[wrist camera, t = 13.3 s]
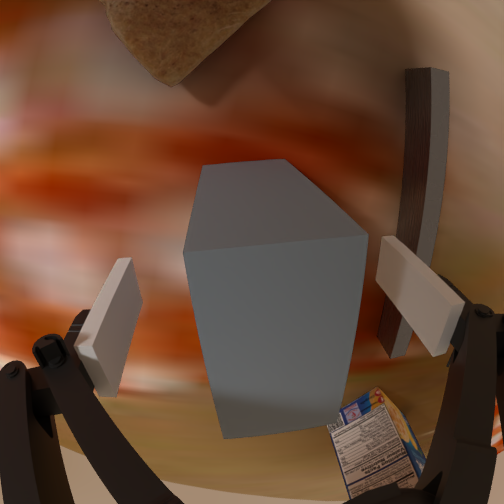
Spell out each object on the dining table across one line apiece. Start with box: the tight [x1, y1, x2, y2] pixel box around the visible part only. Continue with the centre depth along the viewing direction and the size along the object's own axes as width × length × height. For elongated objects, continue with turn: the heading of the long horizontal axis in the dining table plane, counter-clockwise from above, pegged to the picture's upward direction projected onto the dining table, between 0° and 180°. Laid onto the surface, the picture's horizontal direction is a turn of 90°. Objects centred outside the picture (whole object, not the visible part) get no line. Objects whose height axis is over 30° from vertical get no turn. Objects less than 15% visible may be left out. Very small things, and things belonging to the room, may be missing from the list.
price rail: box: [377, 67, 449, 359], centre depth 20 cm, size 2×22×3 cm, turn 2°
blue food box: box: [327, 386, 426, 500], centre depth 23 cm, size 7×11×22 cm, turn 39°
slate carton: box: [183, 159, 369, 439], centre depth 16 cm, size 9×5×12 cm, turn 4°
